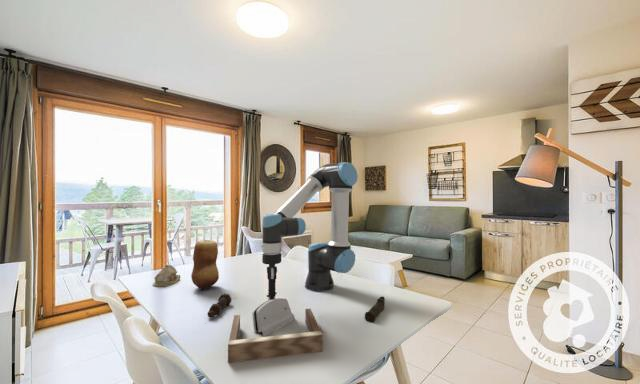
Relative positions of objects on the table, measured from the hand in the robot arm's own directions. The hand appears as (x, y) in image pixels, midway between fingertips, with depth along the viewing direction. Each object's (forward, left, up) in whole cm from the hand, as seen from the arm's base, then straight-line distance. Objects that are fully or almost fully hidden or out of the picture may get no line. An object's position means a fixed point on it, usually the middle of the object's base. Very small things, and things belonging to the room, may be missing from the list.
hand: (271, 312), depth 113 cm
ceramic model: (+55, -58, -2) cm, 80 cm away
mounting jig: (0, +18, -2) cm, 18 cm away
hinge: (0, +7, -2) cm, 8 cm away
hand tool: (-42, +6, -2) cm, 42 cm away
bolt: (+22, -10, -2) cm, 24 cm away
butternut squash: (+33, -43, -2) cm, 54 cm away
